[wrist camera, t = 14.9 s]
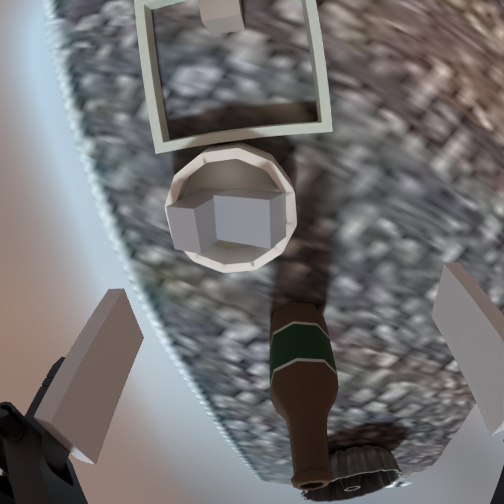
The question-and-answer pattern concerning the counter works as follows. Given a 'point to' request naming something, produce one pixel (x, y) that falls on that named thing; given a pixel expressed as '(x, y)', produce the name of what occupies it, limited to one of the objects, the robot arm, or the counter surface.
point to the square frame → (143, 6)
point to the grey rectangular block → (194, 221)
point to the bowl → (240, 177)
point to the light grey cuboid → (250, 216)
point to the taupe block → (222, 15)
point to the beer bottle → (303, 388)
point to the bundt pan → (356, 474)
